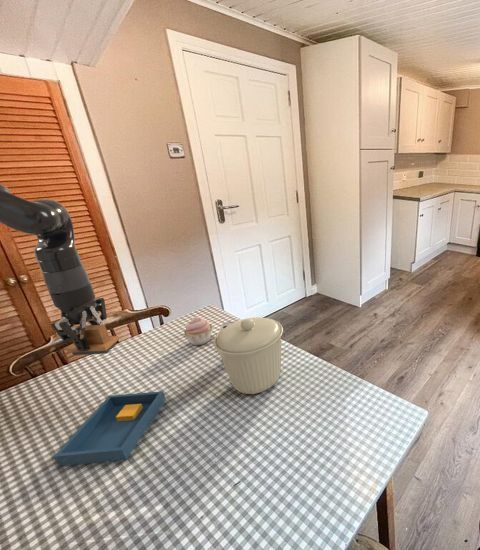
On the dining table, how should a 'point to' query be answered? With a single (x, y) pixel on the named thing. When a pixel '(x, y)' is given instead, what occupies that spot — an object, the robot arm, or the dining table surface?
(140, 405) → the yellow square block
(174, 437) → the dining table surface
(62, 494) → the dining table surface
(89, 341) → the brown wooden stepped block
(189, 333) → the cupcake
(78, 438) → the tray
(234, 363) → the canister
